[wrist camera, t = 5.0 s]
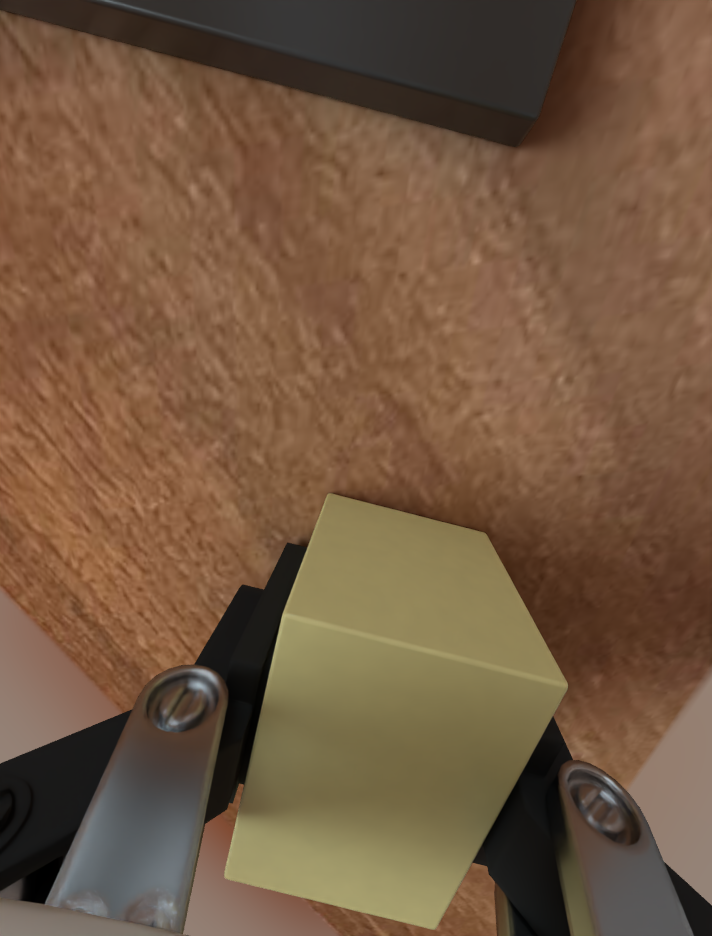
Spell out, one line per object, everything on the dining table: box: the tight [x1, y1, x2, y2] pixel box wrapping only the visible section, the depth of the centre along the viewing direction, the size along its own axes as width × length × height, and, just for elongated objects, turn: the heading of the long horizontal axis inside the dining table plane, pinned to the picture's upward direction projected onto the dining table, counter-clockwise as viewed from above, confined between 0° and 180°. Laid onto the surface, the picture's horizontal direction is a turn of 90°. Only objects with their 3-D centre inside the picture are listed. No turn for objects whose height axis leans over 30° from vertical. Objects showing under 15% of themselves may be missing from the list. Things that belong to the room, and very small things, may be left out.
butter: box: [224, 493, 568, 930], centre depth 8 cm, size 4×6×4 cm, turn 166°
